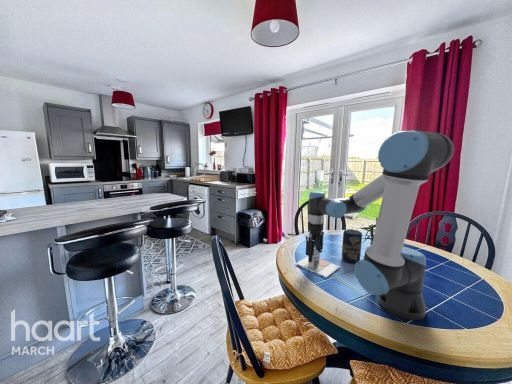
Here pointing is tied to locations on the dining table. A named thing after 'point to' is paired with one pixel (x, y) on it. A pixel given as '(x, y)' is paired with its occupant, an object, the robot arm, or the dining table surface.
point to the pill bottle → (315, 258)
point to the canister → (351, 245)
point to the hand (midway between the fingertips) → (313, 265)
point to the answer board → (320, 267)
